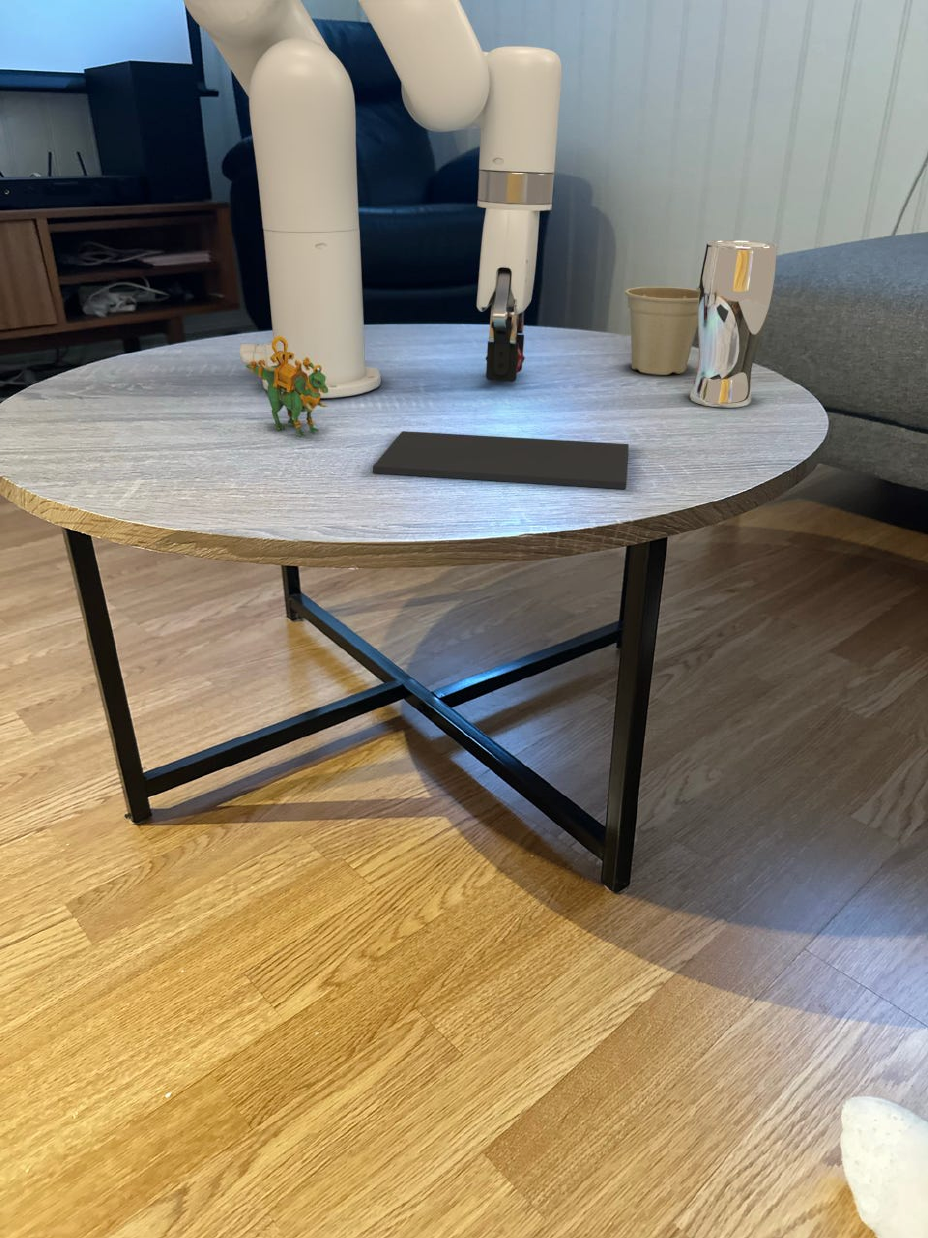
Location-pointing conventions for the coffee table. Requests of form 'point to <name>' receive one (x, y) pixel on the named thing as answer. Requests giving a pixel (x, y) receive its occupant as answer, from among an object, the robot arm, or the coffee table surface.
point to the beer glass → (731, 319)
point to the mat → (507, 459)
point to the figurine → (291, 386)
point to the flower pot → (662, 328)
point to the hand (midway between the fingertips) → (504, 373)
